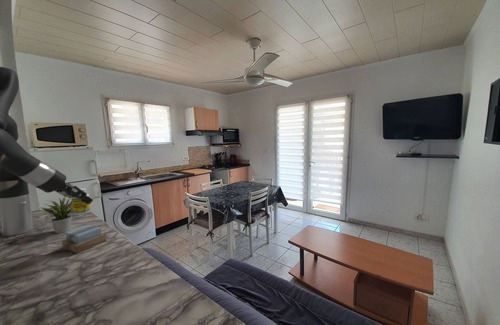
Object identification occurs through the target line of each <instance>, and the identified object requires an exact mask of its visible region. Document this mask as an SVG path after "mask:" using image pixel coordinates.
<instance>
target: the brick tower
mask: <svg viewBox="0 0 500 325" xmlns="http://www.w3.org/2000/svg"><path fill="white" fill-rule="evenodd" d="M65 236H66V239H63V240H61V241H62V249H65V250H67V251H70V252H73V253H76V254H79V253H81V252H84V251H86V250H88V249H89V250H90V248H93V247H95V246H99V245H101V244H102V243H105V242H106V241H107V237H106V236H107V235H106V233H103V232H102V228H101V227H100V226H99V227H98V226H94V225H91V224H88V225H85V226H82V227H78V228H76V229H73V230H68V231H66V232H65Z"/></svg>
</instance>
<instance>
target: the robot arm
mask: <svg viewBox="0 0 500 325" xmlns="http://www.w3.org/2000/svg"><path fill="white" fill-rule="evenodd" d="M19 82H20V81H19V76H18V74H17V73H16V72H15V70H13V69H10V68H8V67H3V66H0V183H3V182H15V181H17V182H16V183H15V184H13V185H11V186H9V187H7V188H4V189H0V225H1V232H2V236H3V237H12V236H17V235H22V234H25V233H28V232H31V231H32V230H33V229H34V224H33V223H34V222H33V216H32V207H31V199H30V198H31V197H30V189H29V184H30V185H31V186H34V187H35V188H38V189H39V190H41V191H43V192H45V193H52V192H55V193H57V194H59V195H62V196H63V198H64V197H65V198H68V199H71V197H72V198H74V197H75V198H77V199H79V200H81V201H83V202H85V203H87V204H90V205H91V203H92V202H93V200H94V199H93V198H91V196H89V197H88V196H86V195H87V194H88V192H86V193H85V192H84V191H82V190H81V189H80V188H79V187H78V186H76V185H73V184H71V183H69V182H68V183H67V182H66V181H67V176H66V175H65V174H64V173H62V172H61V171H59V170H57V169H56V168H54V167H52V166H51V165H49V164H47V163H46V162H43V161H41V160H40V159H38V158H37V157H35V156H33V155H32V154H30V153H29V152H27V151H26V149H24V148H23V146H21V144H20V143H18V139H19V132H18V124H17V122H16V120H15V119H14V118H13V117H12V116H11V115H10V114H9V112H10V109H11V108H12V105H13V103H14V102H15V99H16V98H17V97H16V96H17V94H18V93H19V90H20V89H19V88H20V83H19ZM3 155H4V156H5V157H4V158H2V157H3ZM80 194H81V195H80ZM79 195H80V196H79Z"/></svg>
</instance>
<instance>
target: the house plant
mask: <svg viewBox="0 0 500 325" xmlns="http://www.w3.org/2000/svg"><path fill="white" fill-rule="evenodd" d="M58 199H59V204H58V202H56V200H52V199H50V200H46V201H47V202H49V203H52V204H53V205H50V204H45V203H44V205H45V206H48V207H50V208H51V209H50V208H47V207H40V209H42V210H44V211H45V214H51V217H53V218H51V225H52V226H53V229H54V232H55V233H56V234H60V233H66V232H69V231H71V228H72V219H73V215H70V213H71V212H72V213H73V210H72V200H71V198H68V199H67V200H66V197H64V196H63V197H62V199H61V198H60V197H58ZM70 200H71V201H70ZM65 201H66V202H65ZM42 215H44V213H43V214H42Z"/></svg>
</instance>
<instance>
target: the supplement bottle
mask: <svg viewBox="0 0 500 325" xmlns="http://www.w3.org/2000/svg"><path fill="white" fill-rule="evenodd" d="M79 189H81V190H82V191H84V192H85V193H87V187H86V188H85V187H84V188H83V187H81V188H79ZM80 195H81V194H80ZM80 195H79V196H80ZM86 196H88V197H90V194H89V193H87V195H86ZM70 200H71V201H72V203H71V208H72V210H73V211H72V214H73V215H75V216H80V215H84V214H88V213H90V212H91V203H90V204H87V203H85V202H83V201H81V200H79V199H77V198H75V197H74V198H72V197H71V198H70Z"/></svg>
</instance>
